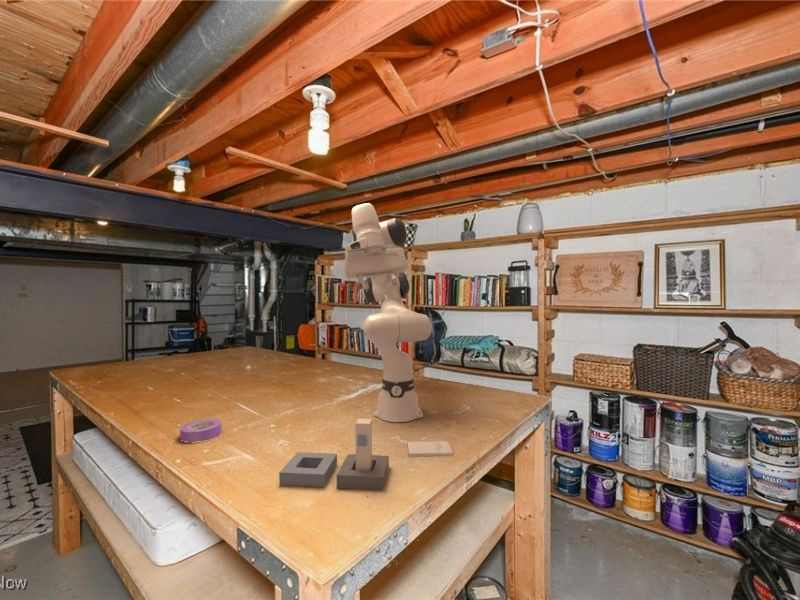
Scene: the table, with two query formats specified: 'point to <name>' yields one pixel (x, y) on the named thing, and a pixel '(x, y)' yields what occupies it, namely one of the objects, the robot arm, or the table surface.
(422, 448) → the external hard drive
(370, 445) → the plug
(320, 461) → the socket
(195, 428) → the masking tape
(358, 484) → the socket
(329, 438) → the table surface
